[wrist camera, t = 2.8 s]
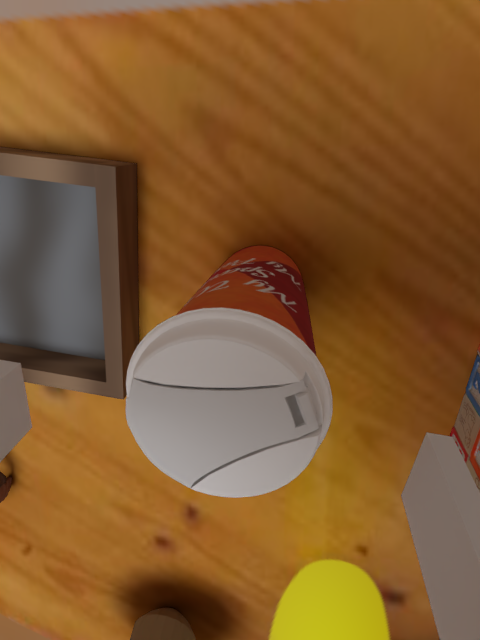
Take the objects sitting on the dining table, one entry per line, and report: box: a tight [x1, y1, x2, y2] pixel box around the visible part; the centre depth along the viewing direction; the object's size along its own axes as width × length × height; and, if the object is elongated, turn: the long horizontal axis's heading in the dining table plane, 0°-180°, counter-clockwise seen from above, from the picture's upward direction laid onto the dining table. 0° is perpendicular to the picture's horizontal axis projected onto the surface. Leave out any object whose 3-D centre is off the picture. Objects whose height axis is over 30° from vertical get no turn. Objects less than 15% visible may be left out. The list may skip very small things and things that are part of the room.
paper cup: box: [126, 246, 332, 498], centre depth 20 cm, size 8×8×14 cm
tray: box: [0, 147, 139, 399], centre depth 26 cm, size 15×15×3 cm
